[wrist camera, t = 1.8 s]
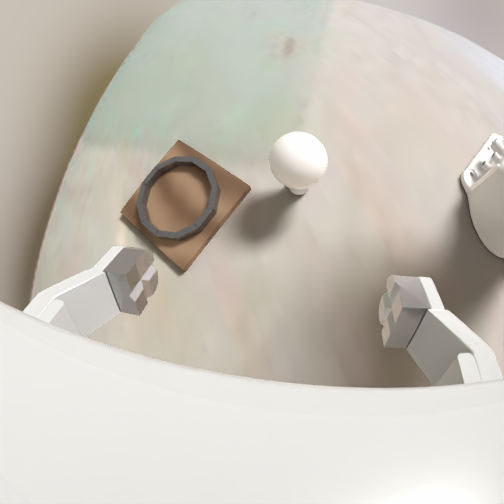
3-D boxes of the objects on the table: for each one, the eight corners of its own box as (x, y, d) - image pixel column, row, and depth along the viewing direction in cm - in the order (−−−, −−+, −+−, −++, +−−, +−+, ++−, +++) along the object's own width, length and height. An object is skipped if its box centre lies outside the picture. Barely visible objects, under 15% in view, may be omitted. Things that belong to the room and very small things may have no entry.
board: (181, 143, 42) (178, 139, 41) (251, 189, 39) (249, 186, 38) (124, 214, 41) (120, 212, 40) (186, 271, 38) (182, 270, 37)
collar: (178, 148, 40) (174, 143, 39) (237, 188, 38) (234, 183, 36) (129, 209, 40) (123, 206, 38) (181, 257, 37) (176, 255, 36)
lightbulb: (268, 175, 39) (256, 132, 28) (310, 160, 38) (313, 113, 27) (285, 216, 37) (280, 183, 27) (330, 200, 37) (341, 161, 26)
